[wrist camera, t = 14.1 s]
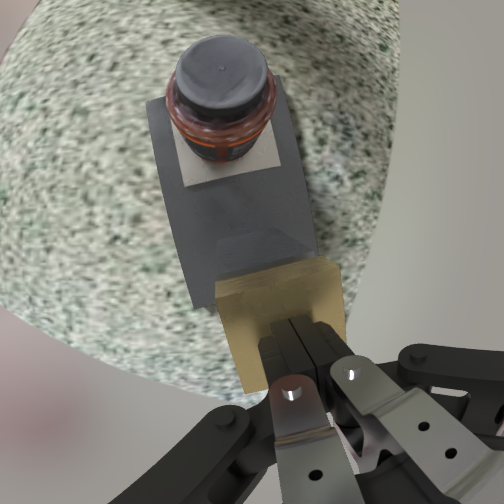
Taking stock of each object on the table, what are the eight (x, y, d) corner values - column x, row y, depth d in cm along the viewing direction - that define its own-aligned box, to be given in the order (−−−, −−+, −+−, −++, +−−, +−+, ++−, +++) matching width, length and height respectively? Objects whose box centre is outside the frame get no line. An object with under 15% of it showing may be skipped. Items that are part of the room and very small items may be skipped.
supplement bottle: (269, 113, 20) (312, 49, 9) (239, 175, 21) (260, 155, 10) (203, 86, 19) (194, 6, 8) (172, 148, 20) (128, 105, 9)
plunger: (216, 242, 22) (215, 298, 10) (277, 228, 22) (339, 266, 10) (231, 299, 23) (244, 394, 11) (288, 285, 23) (347, 364, 12)
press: (150, 108, 21) (104, 50, 10) (274, 83, 22) (314, 14, 11) (195, 300, 26) (182, 377, 14) (314, 271, 26) (378, 323, 15)
